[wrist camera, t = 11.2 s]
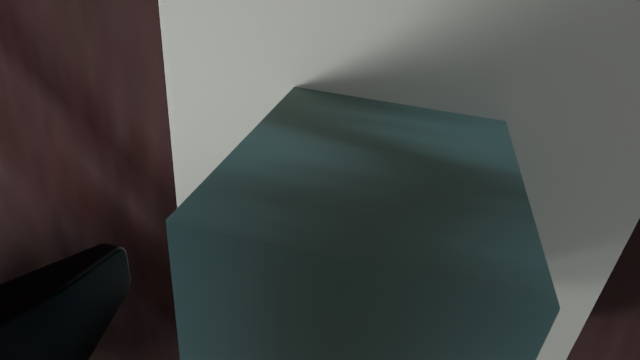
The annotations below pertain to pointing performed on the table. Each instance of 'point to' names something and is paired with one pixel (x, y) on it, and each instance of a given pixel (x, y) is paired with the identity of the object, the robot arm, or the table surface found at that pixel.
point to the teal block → (361, 240)
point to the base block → (439, 100)
